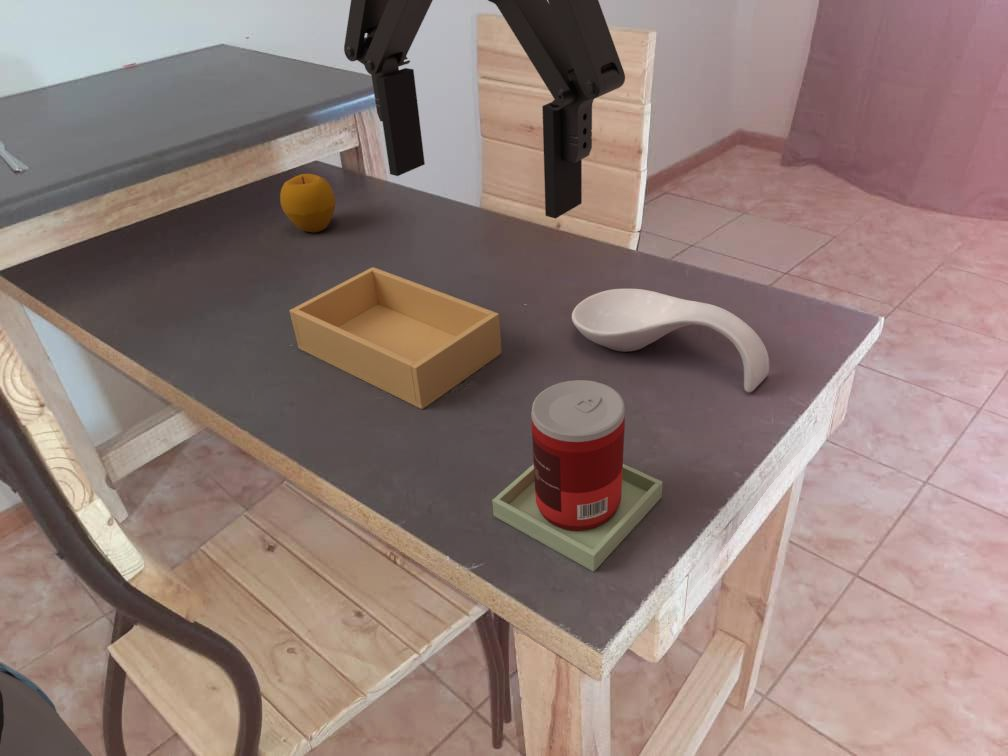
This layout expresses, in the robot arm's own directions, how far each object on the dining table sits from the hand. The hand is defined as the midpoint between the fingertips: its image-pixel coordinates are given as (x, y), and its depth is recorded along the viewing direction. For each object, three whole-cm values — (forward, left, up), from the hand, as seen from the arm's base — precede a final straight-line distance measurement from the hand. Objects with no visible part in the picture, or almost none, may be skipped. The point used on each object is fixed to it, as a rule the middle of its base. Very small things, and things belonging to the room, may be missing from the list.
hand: (480, 188), depth 51 cm
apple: (+33, +68, -32) cm, 82 cm away
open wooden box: (+15, +30, -32) cm, 46 cm away
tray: (+6, -4, -32) cm, 32 cm away
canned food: (+6, -4, -31) cm, 32 cm away
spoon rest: (+33, +3, -32) cm, 46 cm away
